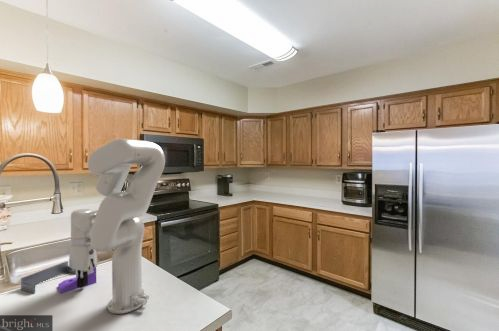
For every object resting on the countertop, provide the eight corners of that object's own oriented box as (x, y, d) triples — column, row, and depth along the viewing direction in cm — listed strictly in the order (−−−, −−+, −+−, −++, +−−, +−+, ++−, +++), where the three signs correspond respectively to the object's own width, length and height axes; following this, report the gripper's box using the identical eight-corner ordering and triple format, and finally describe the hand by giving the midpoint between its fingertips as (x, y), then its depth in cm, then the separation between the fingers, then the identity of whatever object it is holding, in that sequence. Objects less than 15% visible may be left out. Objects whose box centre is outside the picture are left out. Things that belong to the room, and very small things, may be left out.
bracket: (92, 278, 106) (92, 262, 106) (96, 283, 101) (96, 267, 101) (58, 287, 98) (58, 271, 98) (60, 294, 93) (60, 276, 93)
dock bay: (77, 274, 109) (77, 263, 109) (33, 293, 93) (33, 281, 93) (66, 272, 111) (66, 261, 111) (21, 290, 95) (20, 278, 95)
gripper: (104, 239, 97) (104, 284, 97) (78, 235, 102) (78, 278, 102) (86, 246, 90) (86, 294, 90) (59, 241, 95) (59, 287, 95)
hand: (82, 285), depth 96 cm, fingers closed
